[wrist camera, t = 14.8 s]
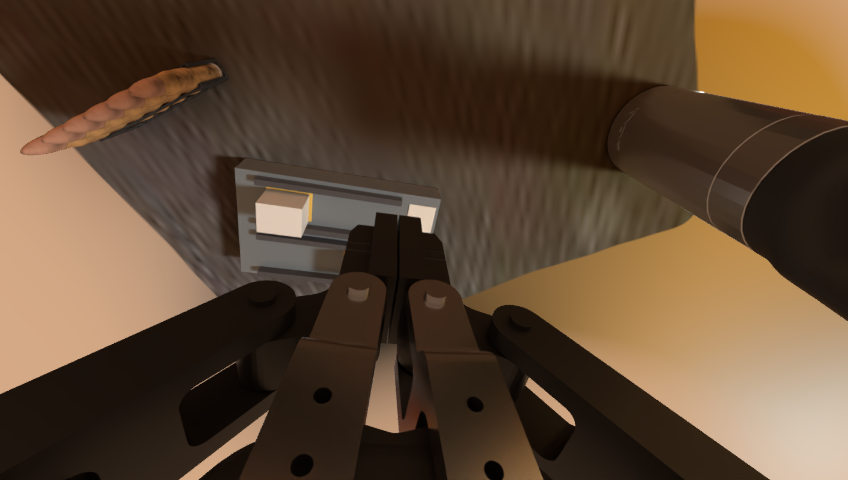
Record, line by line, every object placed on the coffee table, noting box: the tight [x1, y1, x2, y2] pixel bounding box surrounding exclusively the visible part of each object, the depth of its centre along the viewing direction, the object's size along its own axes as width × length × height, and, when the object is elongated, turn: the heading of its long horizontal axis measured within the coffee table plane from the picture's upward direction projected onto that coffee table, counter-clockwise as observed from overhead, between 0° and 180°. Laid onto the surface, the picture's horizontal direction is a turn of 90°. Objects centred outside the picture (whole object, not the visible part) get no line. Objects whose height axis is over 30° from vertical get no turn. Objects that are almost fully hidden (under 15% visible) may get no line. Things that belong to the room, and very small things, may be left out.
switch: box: [256, 189, 309, 238], centre depth 34 cm, size 4×3×3 cm
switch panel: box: [235, 158, 441, 284], centre depth 39 cm, size 20×12×4 cm, turn 79°
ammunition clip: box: [20, 58, 229, 155], centre depth 28 cm, size 11×2×12 cm, turn 114°
